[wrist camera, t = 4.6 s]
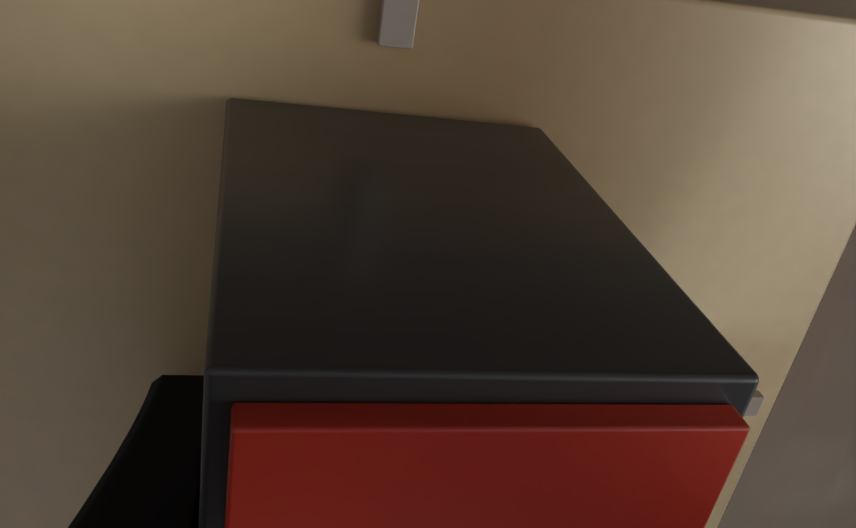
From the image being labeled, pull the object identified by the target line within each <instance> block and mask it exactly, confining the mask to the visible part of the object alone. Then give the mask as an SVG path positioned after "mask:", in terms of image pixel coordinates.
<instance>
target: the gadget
mask: <svg viewBox="0 0 856 528" xmlns="http://www.w3.org/2000/svg"><path fill="white" fill-rule="evenodd" d="M758 383H759V377H758V374H757V373H756V372H755V371H754V370H753V369H752V368H751V366H750V365H749V364H748V363H747V362H746V361H745V360H744V359H743V357H742V356H741V355H740V354H739V353H738V352H737V351H736V349H735V348H734V347H733V346H732V345H731V344H730V343H729V342H728V340H727V339H726V338H725V337H724V336H723V335H722V334H721V332H720V331H719V330H718V329H717V328H716V327H715V326H714V324H713V323H712V322H711V321H710V320H709V319H708V318H707V317H706V315H705V314H704V313H703V312H702V311H701V310H700V309H699V307H698V306H697V305H696V304H695V303H694V302H693V301H692V300H691V298H690V297H689V296H688V295H687V294H686V293H685V292H684V290H683V289H682V288H681V287H680V286H679V285H678V284H677V283H676V281H675V280H674V279H673V278H672V277H671V276H670V275H669V273H668V272H667V271H666V270H665V269H664V268H663V267H662V265H661V264H660V263H659V262H658V261H657V260H656V259H655V258H654V256H653V255H652V254H651V253H650V252H649V251H648V250H647V248H646V247H645V246H644V245H643V244H642V243H641V242H640V241H639V239H638V238H637V237H636V236H635V235H634V234H633V233H632V231H631V230H630V229H629V228H628V227H627V226H626V225H625V224H624V222H623V221H622V220H621V219H620V218H619V217H618V216H617V214H616V213H615V212H614V211H613V210H612V209H611V208H610V206H609V205H608V204H607V203H606V202H605V201H604V200H603V199H602V197H601V196H600V195H599V194H598V193H597V192H596V191H595V189H594V188H593V187H592V186H591V185H590V184H589V183H588V182H587V180H586V179H585V178H584V177H583V176H582V175H581V174H580V172H579V171H578V170H577V169H576V168H575V167H574V166H573V165H572V163H571V162H570V161H569V160H568V159H567V158H566V157H565V155H564V154H563V153H562V152H561V151H560V150H559V149H558V148H557V146H556V145H555V144H554V143H553V142H552V141H551V140H550V138H549V137H548V136H547V135H546V134H545V133H544V132H543V130H542V129H540V128H536V127H525V126H515V125H505V124H495V123H484V122H474V121H464V120H454V119H443V118H433V117H423V116H412V115H402V114H392V113H382V112H371V111H361V110H351V109H341V108H330V107H320V106H310V105H300V104H289V103H279V102H269V101H258V100H248V99H238V98H230V99H228V100H227V102H226V114H225V126H224V138H223V150H222V162H221V174H220V186H219V198H218V209H217V221H216V233H215V245H214V257H213V269H212V281H211V293H210V305H209V317H208V329H207V341H206V353H205V365H204V384H203V412H202V441H201V469H200V497H199V525H198V528H705V525H706V523H707V521H708V519H709V517H710V515H711V513H712V510H713V508H714V506H715V504H716V502H717V500H718V498H719V495H720V493H721V491H722V489H723V487H724V485H725V483H726V481H727V478H728V476H729V474H730V472H731V470H732V468H733V466H734V463H735V461H736V459H737V457H738V455H739V453H740V451H741V448H742V446H743V444H744V442H745V440H746V438H747V436H748V433H749V431H750V427H749V425H748V424H747V423H746V421H745V420H744V419H743V416H744V414H745V412H746V410H747V407H748V405H749V403H750V401H751V399H752V396H753V394H754V392H755V390H756V388H757V385H758Z"/></svg>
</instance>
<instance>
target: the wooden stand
mask: <svg viewBox="0 0 856 528" xmlns="http://www.w3.org/2000/svg"><path fill="white" fill-rule="evenodd" d="M230 98H238V99H248V100H258V101H269V102H279V103H289V104H300V105H310V106H320V107H330V108H341V109H351V110H361V111H371V112H382V113H392V114H402V115H412V116H423V117H433V118H443V119H454V120H464V121H474V122H484V123H495V124H505V125H515V126H525V127H536V128H540V129H542V130H543V132H544V133H545V134H546V135H547V136H548V137H549V138H550V140H551V141H552V142H553V143H554V144H555V145H556V146H557V148H558V149H559V150H560V151H561V152H562V153H563V154H564V155H565V157H566V158H567V159H568V160H569V161H570V162H571V163H572V165H573V166H574V167H575V168H576V169H577V170H578V171H579V172H580V174H581V175H582V176H583V177H584V178H585V179H586V180H587V182H588V183H589V184H590V185H591V186H592V187H593V188H594V189H595V191H596V192H597V193H598V194H599V195H600V196H601V197H602V199H603V200H604V201H605V202H606V203H607V204H608V205H609V206H610V208H611V209H612V210H613V211H614V212H615V213H616V214H617V216H618V217H619V218H620V219H621V220H622V221H623V222H624V224H625V225H626V226H627V227H628V228H629V229H630V230H631V231H632V233H633V234H634V235H635V236H636V237H637V238H638V239H639V241H640V242H641V243H642V244H643V245H644V246H645V247H646V248H647V250H648V251H649V252H650V253H651V254H652V255H653V256H654V258H655V259H656V260H657V261H658V262H659V263H660V264H661V265H662V267H663V268H664V269H665V270H666V271H667V272H668V273H669V275H670V276H671V277H672V278H673V279H674V280H675V281H676V283H677V284H678V285H679V286H680V287H681V288H682V289H683V290H684V292H685V293H686V294H687V295H688V296H689V297H690V298H691V300H692V301H693V302H694V303H695V304H696V305H697V306H698V307H699V309H700V310H701V311H702V312H703V313H704V314H705V315H706V317H707V318H708V319H709V320H710V321H711V322H712V323H713V324H714V326H715V327H716V328H717V329H718V330H719V331H720V332H721V334H722V335H723V336H724V337H725V338H726V339H727V340H728V342H729V343H730V344H731V345H732V346H733V347H734V348H735V349H736V351H737V352H738V353H739V354H740V355H741V356H742V357H743V359H744V360H745V361H746V362H747V363H748V364H749V365H750V366H751V368H752V369H753V370H754V371H755V372H756V373H757V374H758V377H759V383H758V385H757V388H756V390H755V392H754V394H753V396H752V399H751V401H750V403H749V405H748V407H747V410H746V412H745V414H744V416H743V419H744V420H745V421H746V423H747V424H748V425H749V427H750V431H749V433H748V436H747V438H746V440H745V442H744V444H743V446H742V448H741V451H740V453H739V455H738V457H737V459H736V461H735V463H734V466H733V468H732V470H731V472H730V474H729V476H728V478H727V481H726V483H725V485H724V487H723V489H722V491H721V493H720V495H719V498H718V500H717V502H716V504H715V506H714V508H713V510H712V513H711V515H710V517H709V519H708V521H707V523H706V525H705V528H717V527H718V525H719V522H720V520H721V518H722V516H723V514H724V511H725V509H726V507H727V505H728V503H729V501H730V498H731V496H732V494H733V492H734V490H735V487H736V485H737V483H738V481H739V479H740V476H741V474H742V472H743V470H744V468H745V466H746V463H747V461H748V459H749V457H750V455H751V452H752V450H753V448H754V446H755V444H756V441H757V439H758V437H759V435H760V433H761V430H762V428H763V426H764V424H765V422H766V420H767V417H768V415H769V413H770V411H771V409H772V406H773V404H774V402H775V400H776V398H777V395H778V393H779V391H780V389H781V387H782V385H783V382H784V380H785V378H786V376H787V374H788V371H789V369H790V367H791V365H792V363H793V360H794V358H795V356H796V354H797V352H798V350H799V347H800V345H801V343H802V341H803V339H804V336H805V334H806V332H807V330H808V328H809V325H810V323H811V321H812V319H813V317H814V315H815V312H816V310H817V308H818V306H819V304H820V301H821V299H822V297H823V295H824V293H825V290H826V288H827V286H828V284H829V282H830V280H831V277H832V275H833V273H834V271H835V269H836V266H837V264H838V262H839V260H840V258H841V255H842V253H843V251H844V249H845V247H846V245H847V242H848V240H849V238H850V236H851V234H852V231H853V229H854V227H855V225H856V1H853V0H0V528H68V527H69V525H70V524H71V522H72V521H73V519H74V518H75V516H76V515H77V514H78V512H79V511H80V509H81V507H82V506H83V504H84V503H85V501H86V500H87V498H88V497H89V495H90V494H91V492H92V490H93V489H94V487H95V486H96V484H97V483H98V481H99V480H100V478H101V477H102V475H103V473H104V472H105V470H106V469H107V467H108V466H109V464H110V463H111V461H112V459H113V458H114V456H115V454H116V453H117V451H118V449H119V447H120V446H121V444H122V442H123V440H124V439H125V437H126V435H127V434H128V432H129V430H130V428H131V426H132V424H133V423H134V421H135V419H136V417H137V415H138V413H139V411H140V409H141V407H142V405H143V402H144V400H145V398H146V396H147V393H148V391H149V388H150V386H151V383H152V382H153V381H155V380H156V379H157V378H159V377H160V376H161V375H204V365H205V353H206V341H207V329H208V317H209V305H210V293H211V281H212V269H213V257H214V245H215V233H216V221H217V209H218V198H219V186H220V174H221V162H222V150H223V138H224V126H225V114H226V102H227V100H228V99H230Z"/></svg>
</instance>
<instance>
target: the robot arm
mask: <svg viewBox="0 0 856 528" xmlns="http://www.w3.org/2000/svg"><path fill="white" fill-rule="evenodd" d="M203 384H204V375H161V376H160V377H159V378H157V379H156V380H155V381H153V382H152V383H151V386H150V388H149V391H148V393H147V396H146V398H145V400H144V402H143V405H142V407H141V409H140V411H139V413H138V415H137V417H136V419H135V421H134V423H133V424H132V426H131V428H130V430H129V432H128V434H127V435H126V437H125V439H124V440H123V442H122V444H121V446H120V447H119V449H118V451H117V453H116V454H115V456H114V458H113V459H112V461H111V463H110V464H109V466H108V467H107V469H106V470H105V472H104V473H103V475H102V477H101V478H100V480H99V481H98V483H97V484H96V486H95V487H94V489H93V490H92V492H91V494H90V495H89V497H88V498H87V500H86V501H85V503H84V504H83V506H82V507H81V509H80V511H79V512H78V514H77V515H76V516H75V518H74V519H73V521H72V522H71V524H70V525H69V527H68V528H198V525H199V497H200V469H201V441H202V412H203Z"/></svg>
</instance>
